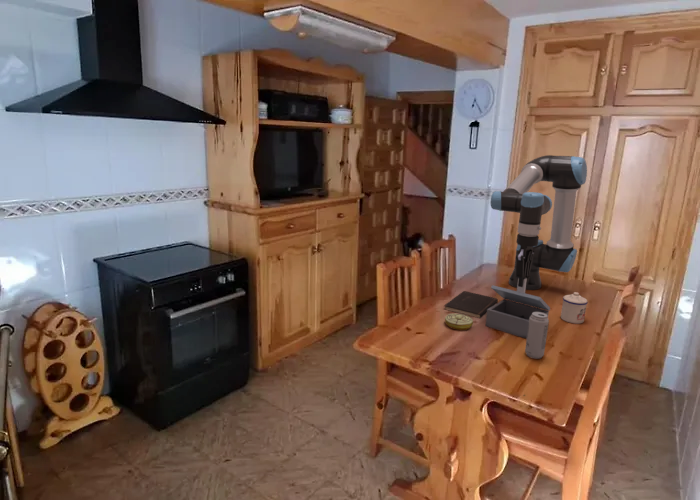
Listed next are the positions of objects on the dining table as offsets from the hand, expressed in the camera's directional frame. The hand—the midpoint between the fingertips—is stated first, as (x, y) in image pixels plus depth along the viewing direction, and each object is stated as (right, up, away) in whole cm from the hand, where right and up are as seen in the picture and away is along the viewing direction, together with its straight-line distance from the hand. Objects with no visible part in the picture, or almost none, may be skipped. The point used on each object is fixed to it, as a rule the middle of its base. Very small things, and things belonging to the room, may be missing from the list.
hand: (520, 293), depth 175 cm
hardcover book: (-13, -8, +24) cm, 28 cm away
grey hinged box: (-1, -13, +3) cm, 14 cm away
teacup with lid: (+26, -12, +13) cm, 31 cm away
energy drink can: (-3, -19, -19) cm, 28 cm away
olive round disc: (-23, -13, +3) cm, 27 cm away
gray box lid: (0, -2, +1) cm, 2 cm away
